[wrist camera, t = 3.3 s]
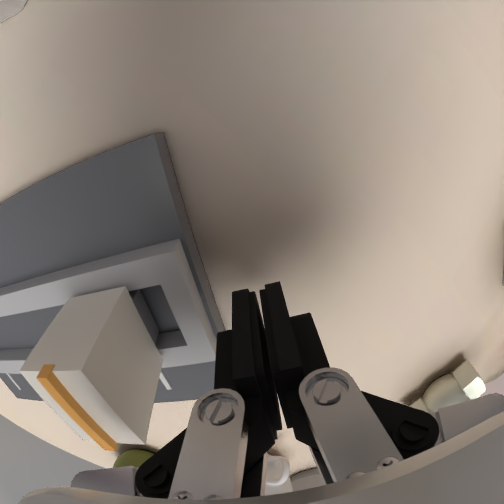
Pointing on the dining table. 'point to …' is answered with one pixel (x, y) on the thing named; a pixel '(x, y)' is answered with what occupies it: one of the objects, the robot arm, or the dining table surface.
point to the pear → (132, 458)
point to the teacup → (277, 476)
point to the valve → (451, 389)
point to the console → (108, 262)
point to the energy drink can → (307, 480)
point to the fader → (100, 366)
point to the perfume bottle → (10, 8)
